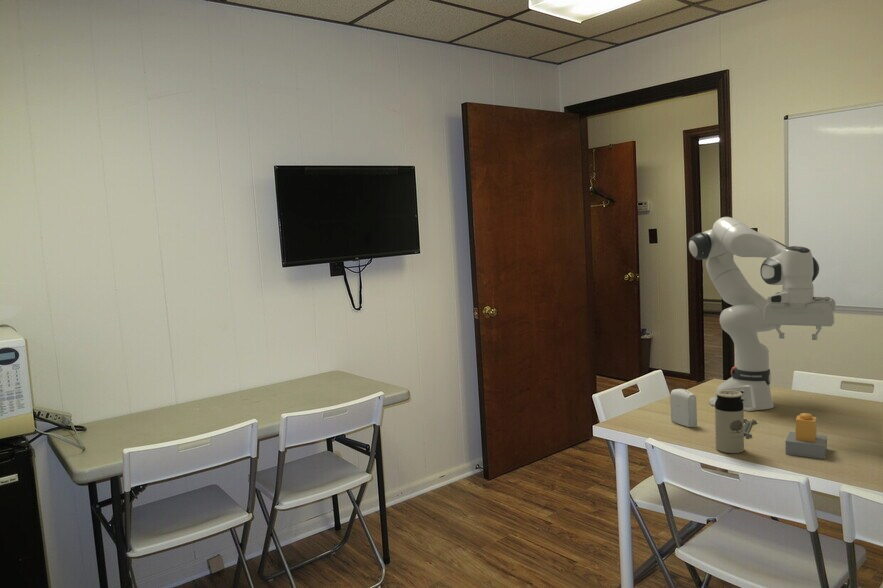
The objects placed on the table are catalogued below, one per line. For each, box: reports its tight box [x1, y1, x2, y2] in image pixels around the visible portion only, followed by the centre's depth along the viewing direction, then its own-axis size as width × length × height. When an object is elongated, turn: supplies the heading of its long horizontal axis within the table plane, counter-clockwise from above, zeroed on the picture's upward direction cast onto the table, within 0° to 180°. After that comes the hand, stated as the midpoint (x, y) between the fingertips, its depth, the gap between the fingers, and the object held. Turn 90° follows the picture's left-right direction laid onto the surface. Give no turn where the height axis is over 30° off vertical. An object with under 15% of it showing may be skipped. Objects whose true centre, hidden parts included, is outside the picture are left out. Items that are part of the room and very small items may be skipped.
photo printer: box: [669, 388, 698, 428], centre depth 225 cm, size 10×4×12 cm, turn 20°
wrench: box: [744, 418, 758, 440], centre depth 216 cm, size 5×2×20 cm
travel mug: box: [714, 390, 745, 454], centre depth 197 cm, size 8×8×18 cm
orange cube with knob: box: [795, 412, 817, 442], centre depth 192 cm, size 5×5×7 cm
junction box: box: [785, 431, 828, 460], centre depth 193 cm, size 10×10×8 cm
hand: (798, 338), depth 208 cm, fingers open, 8 cm apart
